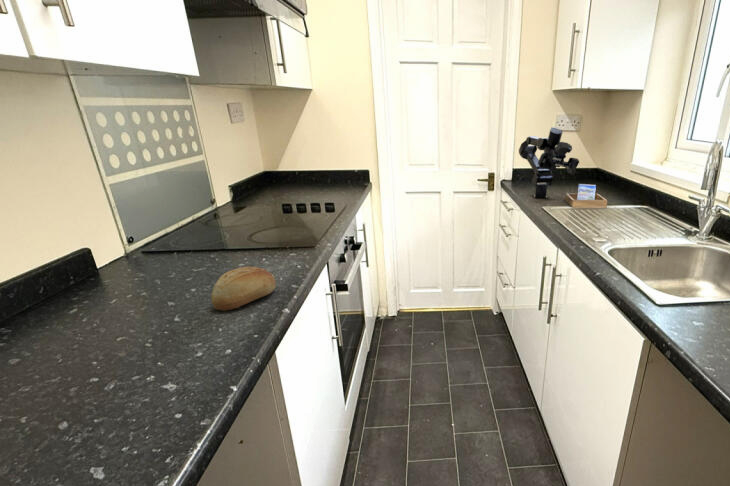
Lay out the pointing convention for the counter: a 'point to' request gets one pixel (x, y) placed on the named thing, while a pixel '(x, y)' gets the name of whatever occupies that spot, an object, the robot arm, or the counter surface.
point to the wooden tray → (586, 201)
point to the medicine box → (586, 192)
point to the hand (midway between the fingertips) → (565, 172)
